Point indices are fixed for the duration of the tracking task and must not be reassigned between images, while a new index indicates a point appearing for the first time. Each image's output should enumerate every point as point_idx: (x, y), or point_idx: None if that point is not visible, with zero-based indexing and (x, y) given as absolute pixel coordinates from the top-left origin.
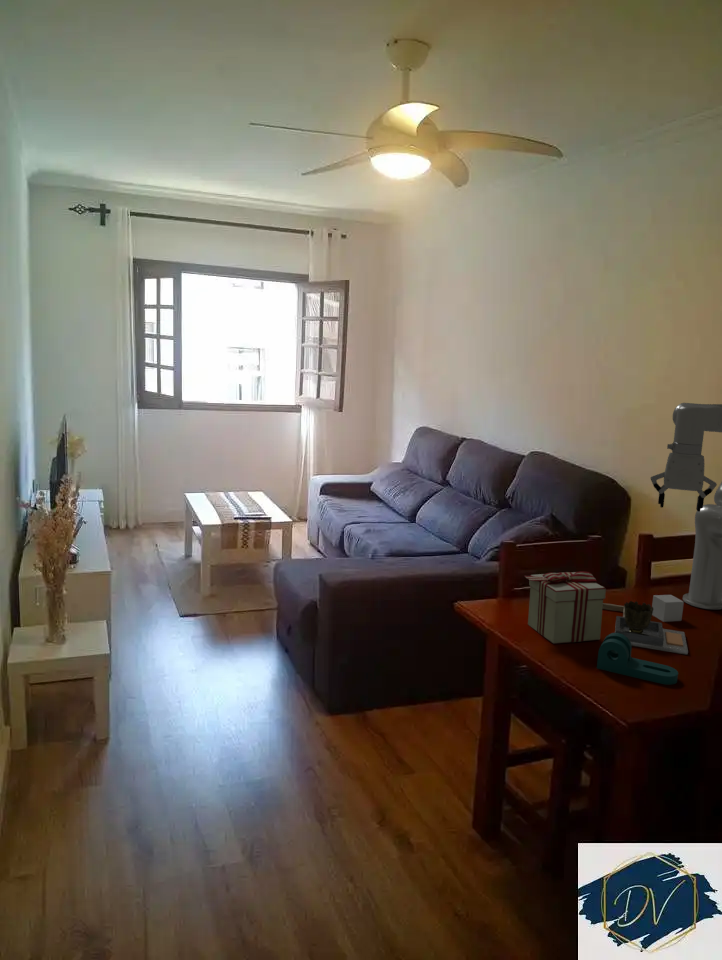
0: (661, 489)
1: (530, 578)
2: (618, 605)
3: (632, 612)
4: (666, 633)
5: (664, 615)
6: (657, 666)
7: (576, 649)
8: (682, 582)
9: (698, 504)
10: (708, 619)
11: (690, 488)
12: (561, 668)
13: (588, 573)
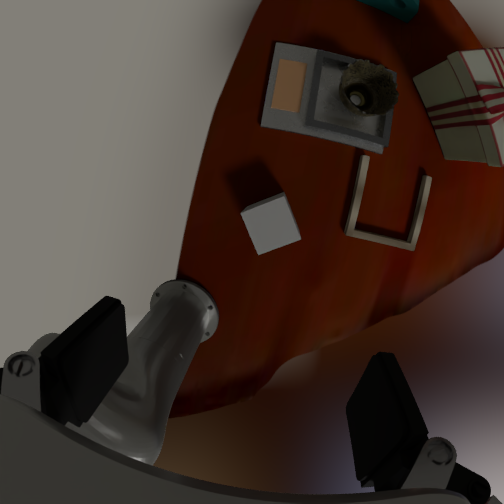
0: (446, 471)
1: None
2: (361, 237)
3: (382, 69)
4: (299, 104)
5: (283, 193)
6: None
7: (439, 50)
8: (204, 392)
9: (92, 328)
10: (193, 228)
11: (74, 462)
12: (446, 6)
13: (497, 104)
